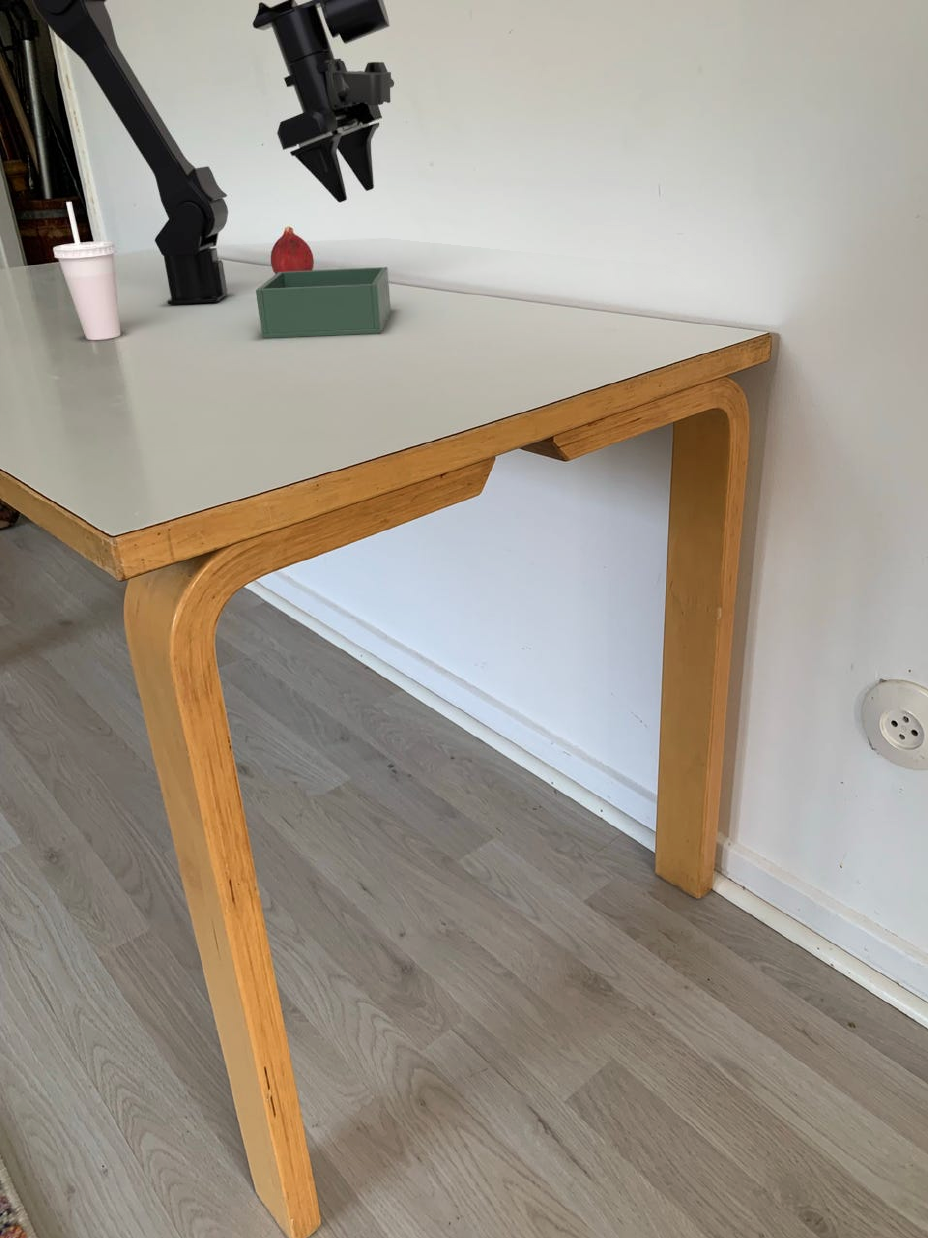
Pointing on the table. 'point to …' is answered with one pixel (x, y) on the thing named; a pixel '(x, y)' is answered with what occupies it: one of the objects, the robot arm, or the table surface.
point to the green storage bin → (324, 302)
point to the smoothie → (91, 283)
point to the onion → (291, 253)
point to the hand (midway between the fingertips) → (357, 195)
